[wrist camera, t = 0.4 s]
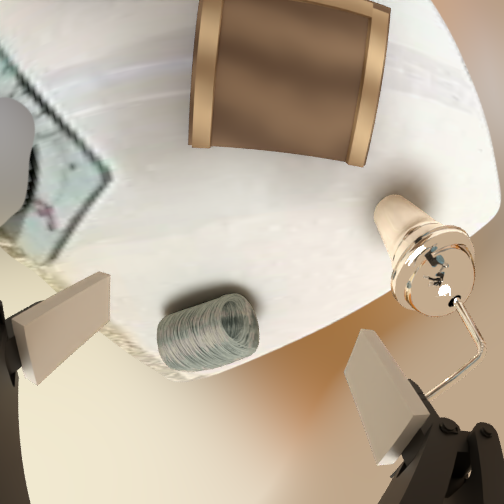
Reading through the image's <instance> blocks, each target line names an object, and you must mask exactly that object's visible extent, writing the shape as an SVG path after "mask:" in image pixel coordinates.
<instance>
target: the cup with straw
mask: <svg viewBox="0 0 504 504" xmlns="http://www.w3.org/2000/svg"><path fill="white" fill-rule="evenodd" d="M374 222H375V224H376V226H377V229H378V231H379V233H380V235H381V238H382V240H383V242H384V245H385V247H386V249H387V252H388V254H389V257H390V259H391V264H392V268H393V272H392V275H391V282H390V285H391V291H392V294H393V296H394V297H395V299H396V300H397V301H398V302H399V303H400V304H401V305H402V306H403V307H405V308H407V309H411V310H416V311H418V312H419V313H421V314H424V315H426V316H431V317H441V316H445V315H448V314H451V313H453V312H454V311H456V310H457V311H458V313H459V315H460V316H461V318H462V320H463V322H464V324H465V326H466V327H467V329H468V331H469V333H470V335H471V337H472V338H473V340H474V342H475V344H476V347H477V350H478V351H477V354H476V355H475V356H474V357H473V358H472V359H471V360H469V361H468V362H467V363H466V364H465V365H463V366H462V367H461V368H460V369H458V370H457V371H456V372H455V373H453V374H452V375H451V376H450V377H448V378H447V379H445V380H444V381H443V382H441V383H440V384H439V385H437V386H436V387H434V388H433V389H432V390H430V391H429V392H427V393H426V394H424V395H425V396H426V398H427V400H428V401H429V402H431V401H432V400H434V399H435V398H436V397H438V396H439V395H441V394H442V393H443V392H445V391H446V390H447V389H449V388H450V387H451V386H453V385H454V384H455V383H457V382H458V381H459V380H460V379H462V378H463V377H464V376H466V375H467V374H468V373H469V372H470V371H472V370H473V369H474V368H475V367H476V366H478V365H479V364H480V363H481V362H482V361H483V359H484V357H485V355H486V349H487V348H486V343H485V341H484V339H483V337H482V335H481V333H480V332H479V330H478V328H477V326H476V325H475V323H474V321H473V319H472V318H471V316H470V314H469V313H468V311H467V309H466V308H465V306H464V303H465V302H466V300H467V299H468V297H469V295H470V293H471V291H472V289H473V286H474V281H475V266H474V255H475V254H474V246H473V244H472V241H471V240H470V238H469V236H468V234H467V233H466V232H465V231H464V230H463V229H461V228H460V227H457V226H454V225H443V224H441V223H439V222H437V221H435V220H434V219H433V218H431V217H430V216H429V215H427V214H426V213H425V212H423V211H422V210H421V209H419V208H418V207H417V206H415V205H414V204H413V203H411V202H410V201H408V200H407V199H405V198H404V197H403V196H401V195H396V194H394V195H389V196H387V197H385V198H383V199H382V200H381V201H380V202H379V203H378V204H377V206H376V208H375V211H374Z"/></svg>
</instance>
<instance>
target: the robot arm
mask: <svg viewBox="0 0 504 504" xmlns="http://www.w3.org/2000/svg"><path fill="white" fill-rule="evenodd" d="M109 321H110V275H109V274H106V273H102V272H97V273H95V274H93V275H91V276H89V277H87V278H85V279H83V280H81V281H79V282H77V283H75V284H74V285H72V286H70V287H68V288H66V289H64V290H62V291H60V292H58V293H57V294H55V295H53V296H51V297H49V298H47V299H46V300H43V301H39V302H36V303H34V304H32V305H30V306H29V307H27V308H25V309H24V310H21V311H20V312H18V313H16V314H14V315H12V316H11V317H9V318H7V319H6V320H5V317H4V311H3V305H2V302H1V300H0V504H30V500H29V495H28V491H27V486H26V481H25V475H24V469H23V463H22V456H21V446H20V436H19V420H18V379H19V377H18V373H17V370H18V369H19V368H20V367H22V369H23V372H24V376H25V378H26V379H28V380H29V381H31V382H32V383H34V384H36V385H39V384H40V383H41V382H42V381H43V380H44V379H45V378H46V377H47V376H48V375H49V374H51V373H52V372H53V371H54V370H55V369H56V368H57V367H58V366H59V365H60V364H62V363H63V362H64V361H65V360H66V359H67V358H68V357H69V356H70V355H71V354H73V353H74V352H75V351H76V350H77V349H78V348H79V347H80V346H81V345H83V344H84V343H85V342H86V341H87V340H88V339H89V338H91V337H92V336H93V335H94V334H95V333H96V332H98V331H99V330H100V329H101V328H102V327H103V326H104V325H106V324H107V323H108V322H109ZM344 375H345V377H346V380H347V382H348V385H349V388H350V390H351V393H352V395H353V398H354V401H355V404H356V407H357V409H358V412H359V415H360V418H361V421H362V423H363V426H364V429H365V432H366V435H367V438H368V441H369V444H370V447H371V449H372V452H373V455H374V458H375V461H376V464H377V465H386V464H393V463H394V462H395V461H396V460H397V459H398V457H399V456H400V455H401V454H402V457H403V459H404V462H403V463H402V464H401V465H400V466H399V467H398V468H397V470H396V471H395V472H394V473H393V474H392V475H391V476H390V477H391V478H392V477H393V476H394V477H393V479H392V481H391V483H390V485H389V486H388V488H387V490H386V491H385V493H384V495H383V496H382V498H381V500H380V501H379V503H378V504H504V458H503V454H502V449H501V445H500V441H499V438H498V434H497V432H496V430H495V429H494V428H493V426H492V425H490V424H487V423H484V422H480V423H477V424H476V426H475V427H474V428H473V430H472V431H471V432H468V431H460V428H459V426H458V425H457V424H456V423H455V422H454V421H452V420H450V419H448V418H440V417H439V416H438V414H437V413H436V411H435V410H434V408H433V407H432V405H431V404H430V402H429V401H428V400H427V398H426V396H425V395H424V394H423V392H422V390H421V389H420V387H419V386H418V385H417V384H415V382H413V381H412V380H411V379H407V378H406V376H405V375H404V373H403V372H402V370H401V369H400V367H399V366H398V364H397V363H396V361H395V360H394V358H393V357H392V356H391V354H390V353H389V351H388V350H387V348H386V347H385V346H384V344H383V343H382V341H381V340H380V338H379V337H378V336H377V334H376V333H375V332H374V330H367V329H361V331H360V333H359V336H358V338H357V341H356V344H355V346H354V349H353V351H352V354H351V356H350V359H349V361H348V364H347V366H346V368H345V370H344ZM470 470H471V474H470V477H468V473H469V472H470Z"/></svg>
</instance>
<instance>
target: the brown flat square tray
mask: <svg viewBox="0 0 504 504" xmlns="http://www.w3.org/2000/svg"><path fill="white" fill-rule="evenodd" d="M390 11H391V8H389V7H386V6H384V5H381V4H378V3H375V2H372V1H369V0H199V6H198V14H197V23H196V32H195V42H194V52H193V64H192V77H191V93H190V112H189V139H188V145H192V147H193V148H210V147H211V146H219V147H234V148H246V149H257V150H267V151H276V152H284V153H292V154H300V155H307V156H314V157H320V158H326V159H332V160H338V161H344V162H346V163H347V164H348V165H353V166H359V167H363V166H364V165H365V163H366V159H367V155H368V151H369V146H370V142H371V137H372V133H373V128H374V123H375V118H376V113H377V108H378V102H379V97H380V91H381V85H382V79H383V72H384V65H385V58H386V51H387V42H388V33H389V23H390Z"/></svg>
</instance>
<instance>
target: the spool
mask: <svg viewBox="0 0 504 504" xmlns="http://www.w3.org/2000/svg"><path fill="white" fill-rule="evenodd" d="M157 343H158V349H159V353H160V356H161V358H162V360H163V361H164V362H165V364H166V365H167V366H168V367H170V368H171V369H173V370H177V371H182V372H196V371H202V370H209V369H214V368H217V367H221V366H224V365H227V364H230V363H232V362H235V361H238V360H241V359H243V358H245V357H248V356H250V355H252V354H253V353H254V352H255V351H256V349H257V347H258V345H259V326H258V321H257V318H256V315H255V312H254V309H253V308H252V306H251V304H250V303H249V302H248V301H247V299H246V298H245V297H243V296H242V295H240V294H238V293H234V294H226V295H223V296H221V297H220V298H217V299H214V300H210V301H208V302H206V303H202V304H199V305H197V306H194V307H190V308H187V309H184V310H181V311H178V312H175V313H172V314H169V315H168V316H166V317H164V318H163V319H162V320H161V321H160V323H159V325H158V328H157Z"/></svg>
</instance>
